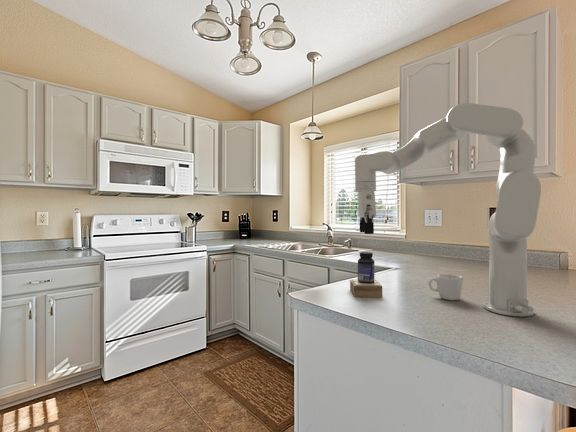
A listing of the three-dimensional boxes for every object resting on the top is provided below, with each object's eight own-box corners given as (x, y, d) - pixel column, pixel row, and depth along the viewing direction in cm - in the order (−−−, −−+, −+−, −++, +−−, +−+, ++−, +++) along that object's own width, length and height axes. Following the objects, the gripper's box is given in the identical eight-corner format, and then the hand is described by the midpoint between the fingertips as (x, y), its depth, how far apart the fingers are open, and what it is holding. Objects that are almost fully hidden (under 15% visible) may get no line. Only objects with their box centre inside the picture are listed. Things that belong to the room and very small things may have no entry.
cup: (427, 299, 107) (427, 276, 107) (429, 293, 114) (429, 272, 114) (463, 303, 102) (463, 279, 102) (462, 297, 109) (462, 275, 109)
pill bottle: (376, 284, 112) (376, 253, 111) (359, 283, 112) (359, 253, 112) (371, 280, 118) (372, 251, 118) (356, 280, 118) (356, 251, 118)
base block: (382, 297, 110) (382, 285, 110) (354, 296, 110) (354, 285, 110) (375, 290, 120) (375, 279, 120) (350, 289, 120) (350, 279, 120)
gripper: (381, 184, 105) (382, 234, 106) (370, 189, 123) (371, 231, 123) (359, 185, 106) (360, 234, 106) (351, 189, 123) (352, 231, 123)
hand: (366, 233), depth 114 cm, fingers open, 9 cm apart
